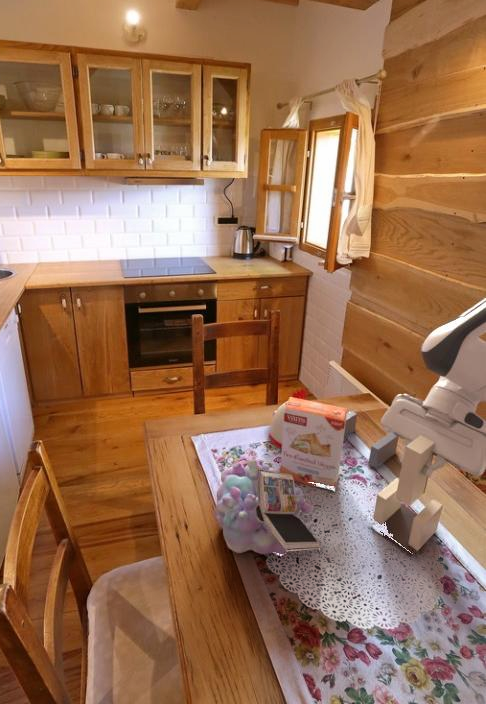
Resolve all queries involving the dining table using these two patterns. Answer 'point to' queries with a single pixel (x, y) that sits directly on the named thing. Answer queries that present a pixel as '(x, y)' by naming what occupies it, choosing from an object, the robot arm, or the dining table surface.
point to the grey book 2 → (383, 450)
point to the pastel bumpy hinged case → (262, 510)
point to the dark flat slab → (401, 529)
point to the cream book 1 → (386, 502)
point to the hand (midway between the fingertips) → (414, 469)
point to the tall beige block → (414, 470)
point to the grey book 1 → (350, 423)
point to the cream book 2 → (425, 524)
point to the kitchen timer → (281, 420)
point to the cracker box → (312, 441)
